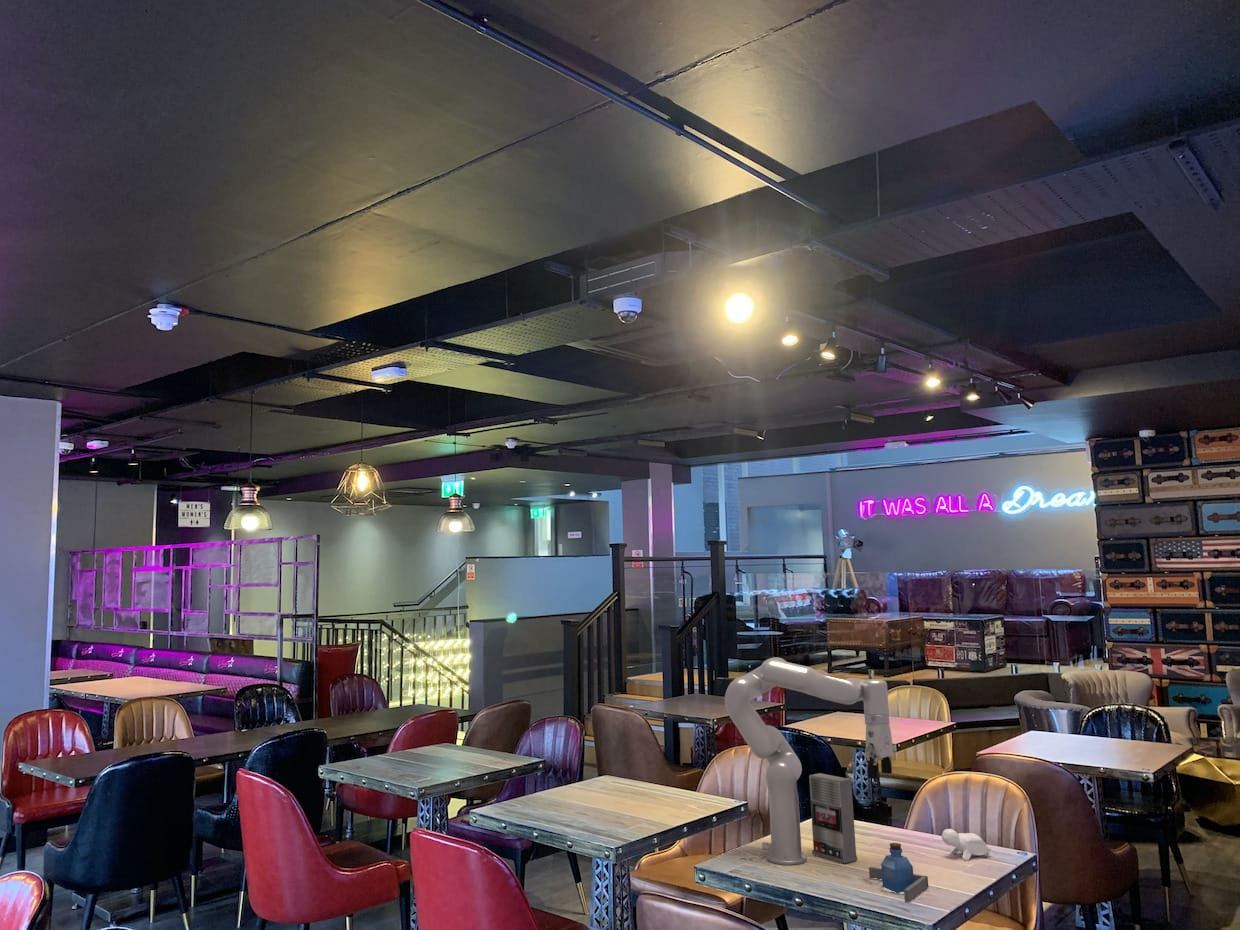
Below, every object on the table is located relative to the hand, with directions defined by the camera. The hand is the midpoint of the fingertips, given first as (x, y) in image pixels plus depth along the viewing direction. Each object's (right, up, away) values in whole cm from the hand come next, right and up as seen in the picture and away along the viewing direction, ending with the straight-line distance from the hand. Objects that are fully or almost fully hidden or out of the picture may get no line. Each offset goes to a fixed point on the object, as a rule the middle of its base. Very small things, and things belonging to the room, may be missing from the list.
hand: (880, 775), depth 275 cm
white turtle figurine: (+29, -28, +5) cm, 41 cm away
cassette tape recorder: (-13, -30, +8) cm, 33 cm away
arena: (-4, -24, -24) cm, 34 cm away
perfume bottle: (-2, -24, -24) cm, 34 cm away
